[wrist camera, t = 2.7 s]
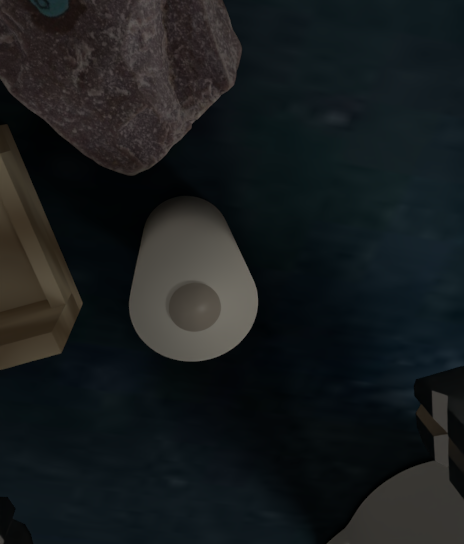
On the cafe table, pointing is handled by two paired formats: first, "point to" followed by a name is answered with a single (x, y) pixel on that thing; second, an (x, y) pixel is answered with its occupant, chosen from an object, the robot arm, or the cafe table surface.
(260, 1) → the cafe table surface
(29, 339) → the holder
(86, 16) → the rock
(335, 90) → the cafe table surface
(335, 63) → the cafe table surface
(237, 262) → the roll
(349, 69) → the cafe table surface
